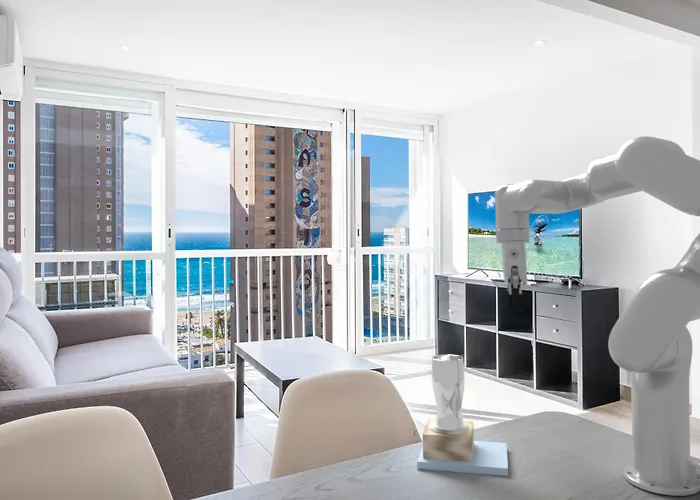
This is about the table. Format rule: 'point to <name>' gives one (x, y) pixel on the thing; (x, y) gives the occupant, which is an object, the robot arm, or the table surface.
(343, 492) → the table surface
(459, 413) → the beer glass
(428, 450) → the plinth
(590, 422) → the table surface
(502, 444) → the blueprint board
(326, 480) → the table surface
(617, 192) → the robot arm
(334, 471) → the table surface
